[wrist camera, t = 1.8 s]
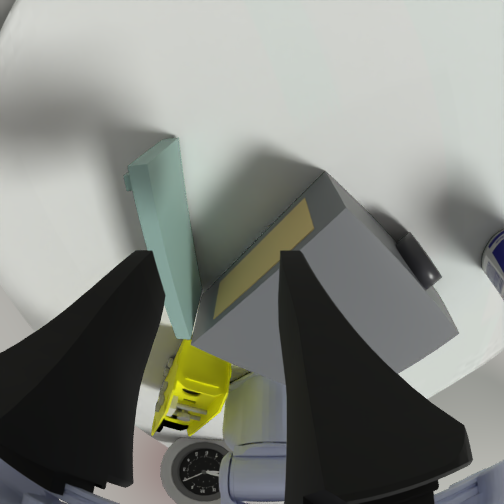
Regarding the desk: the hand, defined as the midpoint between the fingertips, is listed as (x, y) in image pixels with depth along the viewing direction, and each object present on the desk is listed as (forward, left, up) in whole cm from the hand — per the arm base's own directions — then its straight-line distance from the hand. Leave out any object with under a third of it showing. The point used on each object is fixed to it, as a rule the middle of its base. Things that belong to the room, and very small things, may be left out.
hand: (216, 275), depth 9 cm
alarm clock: (-53, -32, -10) cm, 63 cm away
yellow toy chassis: (-23, -10, -10) cm, 26 cm away
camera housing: (-3, -13, -9) cm, 16 cm away
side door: (-5, +1, -9) cm, 11 cm away
